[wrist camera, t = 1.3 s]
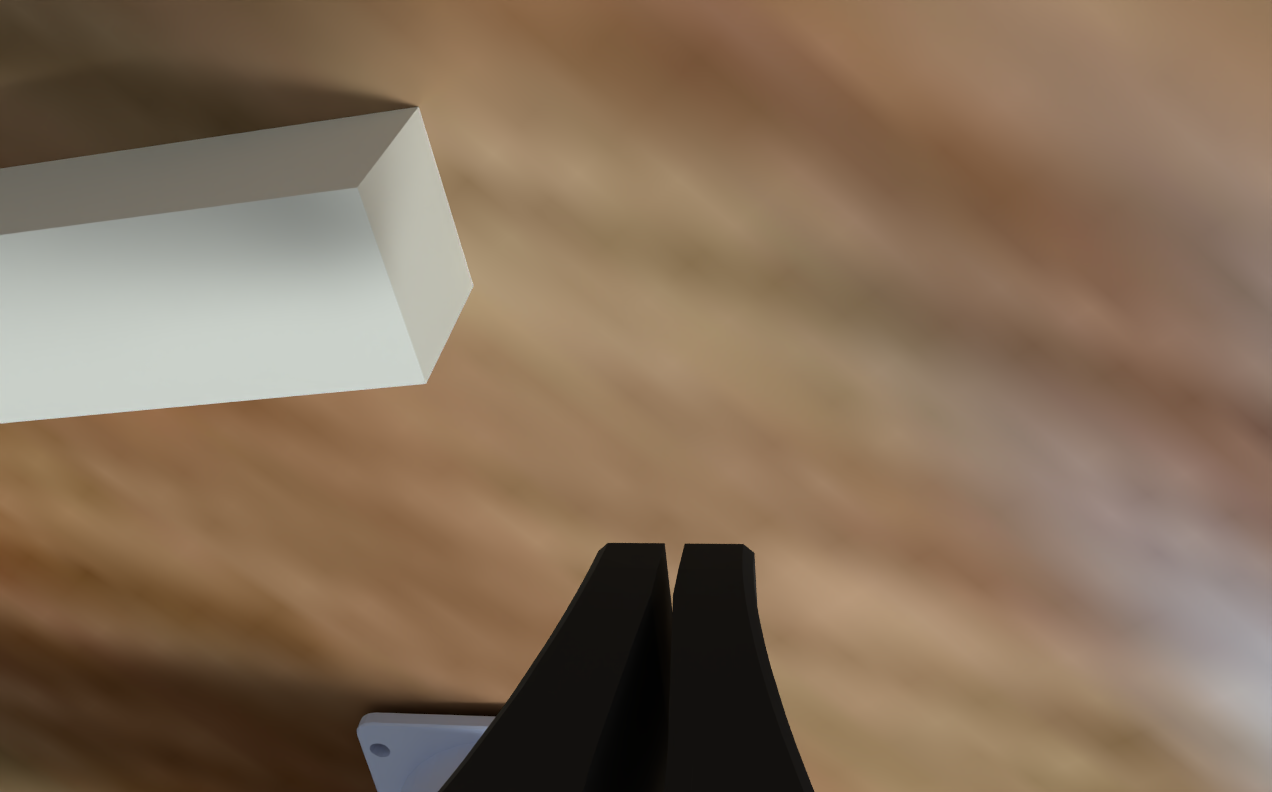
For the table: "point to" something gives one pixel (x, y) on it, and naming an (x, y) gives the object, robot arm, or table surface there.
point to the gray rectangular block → (227, 269)
